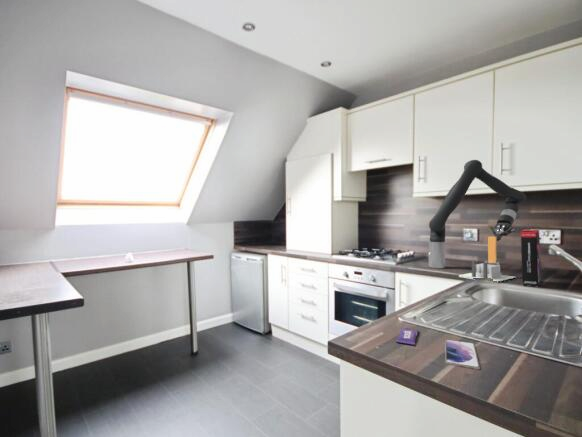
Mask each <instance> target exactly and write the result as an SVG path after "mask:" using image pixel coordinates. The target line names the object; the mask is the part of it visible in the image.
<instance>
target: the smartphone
mask: <svg viewBox="0 0 582 437" xmlns="http://www.w3.org/2000/svg"><path fill="white" fill-rule="evenodd" d="M475 345H476V344H474V343H472V342H465V341H460V340H459V341H458V340H452V339H451V340H450V339H446V340H445V349H444V350H445V364H447V365H451V366H455V367H463V368H466V369H472V370H480V369H481V366H480V362H479V357H478V353H477V348H476V346H475Z"/></svg>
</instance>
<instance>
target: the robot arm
mask: <svg viewBox="0 0 582 437" xmlns="http://www.w3.org/2000/svg"><path fill="white" fill-rule="evenodd" d="M475 179H477V180H479V181H481V182H482V183H484V185H486V186H487V187H489V189H491V190H492V191H494V192H495V193H496V194H498V195H499V196H500V197H505V196H508V197H507V198H506V199H505V202H504V208H503V210H502V211H501V213H500V215H499V217H498V220H497V221H496V224H495V225H494V226H490V227H489V229H490V231H491V232H492V234H493V235H494V237H497V242H500V241H501V240H502V237H506V236H508V235H511V234H512V233H514V232H515V228H514V227H513V225H514V222H515V220H516V217H517V214H518V212H519V206H518V205H521V204H523V203H524V202H525V201H526V200H527V195H526V194H525V193H524V192H523V191H522V190H521V191H520V190H519V189H516V188H514V187H510V186H509V185H507V184H506V183H505V182H504V181H502V180H501V179H499V178H497V177H496V176H494V175H492V174H490V173H489V172H487V170H485V169H484V168H483V163H482V162H481V161H480V160H478V159H472V160H469V161H467V162H466V163H465V164H464V166H463V172H462V173H461V176H460V177H459V179H458V180H457V181H456V182H455V183H454V185H453V186H451V188H450V189H449V190H448V193H447V194H446V195H445V198H444V199H443V201H442V204H441V205H440V207H439V209H438V210H437V212H436V213H435V215H434V216H433V217H432V218H431V220H430V221H429V224H428V227H429V229H430V232H429V234H430V235H429V252H428V267H429V268H432V269H445V268H446V243H445V242H446V222H447V221H448V218H449V217H450V215H451V214H452V213H453V212H454V211H455V210H456V209H457V207H458V206H459V205H460V203H461V202H462V200H463V198H464V197H465V196H466V193H467V192H468V190H469V188H470V186H471V184H472V183H473V182H474V180H475Z"/></svg>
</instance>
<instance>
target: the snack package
mask: <svg viewBox="0 0 582 437" xmlns="http://www.w3.org/2000/svg"><path fill="white" fill-rule="evenodd" d="M419 332H420V330H418V329H415V328H408V327H402V328H401V330H400V333H399V335H398V338H397V339H396V340H395V342H396V343H401V344H408V345H413V346H414V345H416V342H415V341H416V338H417V335H418V333H419Z"/></svg>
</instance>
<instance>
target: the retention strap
mask: <svg viewBox="0 0 582 437" xmlns="http://www.w3.org/2000/svg"><path fill="white" fill-rule="evenodd" d="M497 244H498V241H497V237H495V236H487V259H488V260H487V261H488V264H492V265H496V262H498V255H497V253H498V251H497V249H498V246H497Z"/></svg>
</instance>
